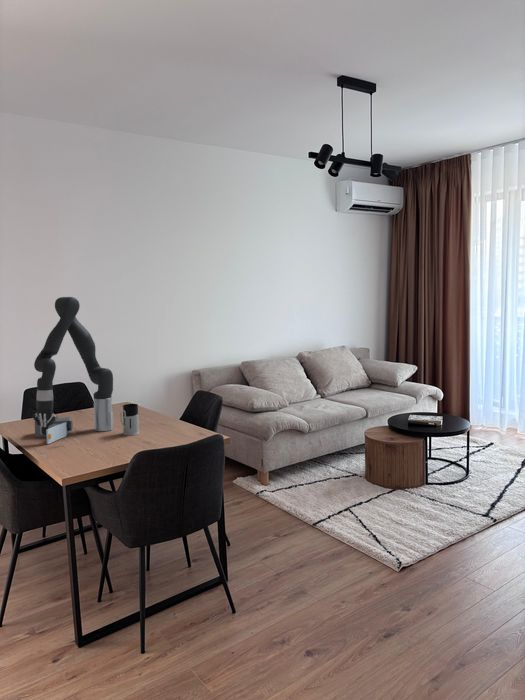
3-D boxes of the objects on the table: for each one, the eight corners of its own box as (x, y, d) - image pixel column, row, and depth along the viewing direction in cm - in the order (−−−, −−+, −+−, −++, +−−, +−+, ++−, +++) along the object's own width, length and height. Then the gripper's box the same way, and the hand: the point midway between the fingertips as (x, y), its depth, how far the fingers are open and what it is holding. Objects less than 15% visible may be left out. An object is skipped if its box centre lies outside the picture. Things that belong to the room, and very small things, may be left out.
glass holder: (142, 432, 288) (142, 403, 286) (129, 438, 274) (128, 409, 273) (127, 431, 290) (127, 403, 288) (113, 437, 276) (112, 408, 275)
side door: (65, 435, 279) (65, 422, 278) (68, 435, 278) (68, 422, 278) (46, 443, 263) (46, 429, 263) (50, 443, 263) (49, 429, 262)
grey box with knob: (73, 431, 289) (73, 415, 288) (68, 436, 279) (68, 419, 278) (41, 432, 287) (40, 416, 287) (35, 437, 277) (34, 420, 277)
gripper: (27, 399, 262) (27, 435, 263) (52, 401, 259) (52, 437, 261) (37, 397, 269) (37, 431, 271) (61, 398, 267) (61, 433, 268)
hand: (44, 434), depth 266 cm, fingers closed
